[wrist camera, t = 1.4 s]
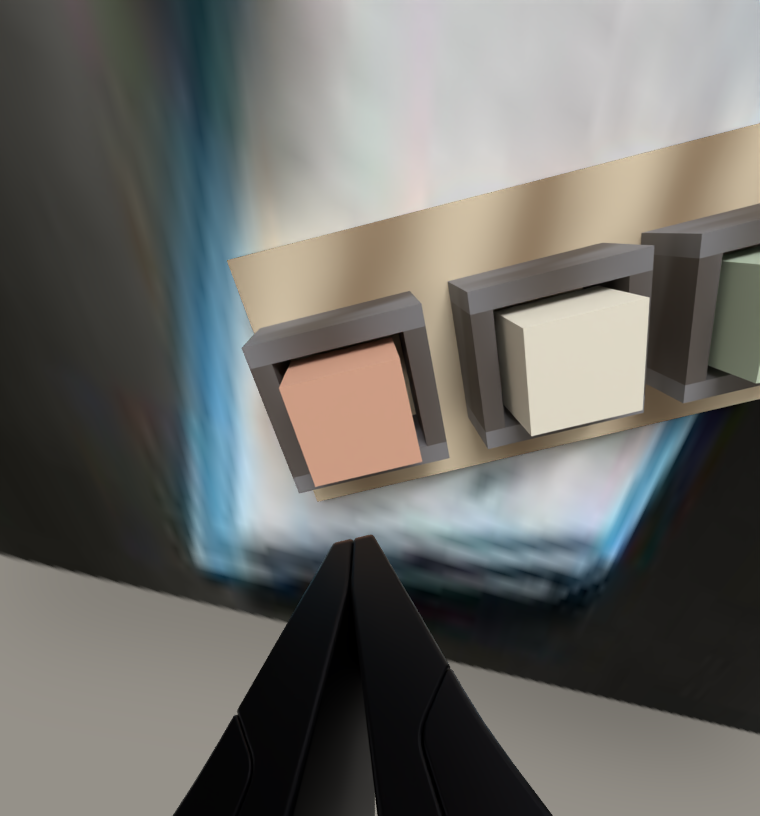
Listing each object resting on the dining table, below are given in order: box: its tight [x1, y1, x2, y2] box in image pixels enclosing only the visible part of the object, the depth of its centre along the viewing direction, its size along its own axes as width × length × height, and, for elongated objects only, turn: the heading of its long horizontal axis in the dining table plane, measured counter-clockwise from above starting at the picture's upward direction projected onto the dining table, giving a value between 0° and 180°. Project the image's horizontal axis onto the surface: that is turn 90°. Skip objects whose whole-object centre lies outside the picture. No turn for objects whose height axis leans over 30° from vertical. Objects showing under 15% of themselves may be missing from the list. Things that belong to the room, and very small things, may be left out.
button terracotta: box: [279, 337, 422, 487], centre depth 15 cm, size 4×4×3 cm
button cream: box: [494, 286, 650, 436], centre depth 14 cm, size 4×4×3 cm
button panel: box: [227, 123, 760, 502], centre depth 16 cm, size 23×12×4 cm, turn 103°
